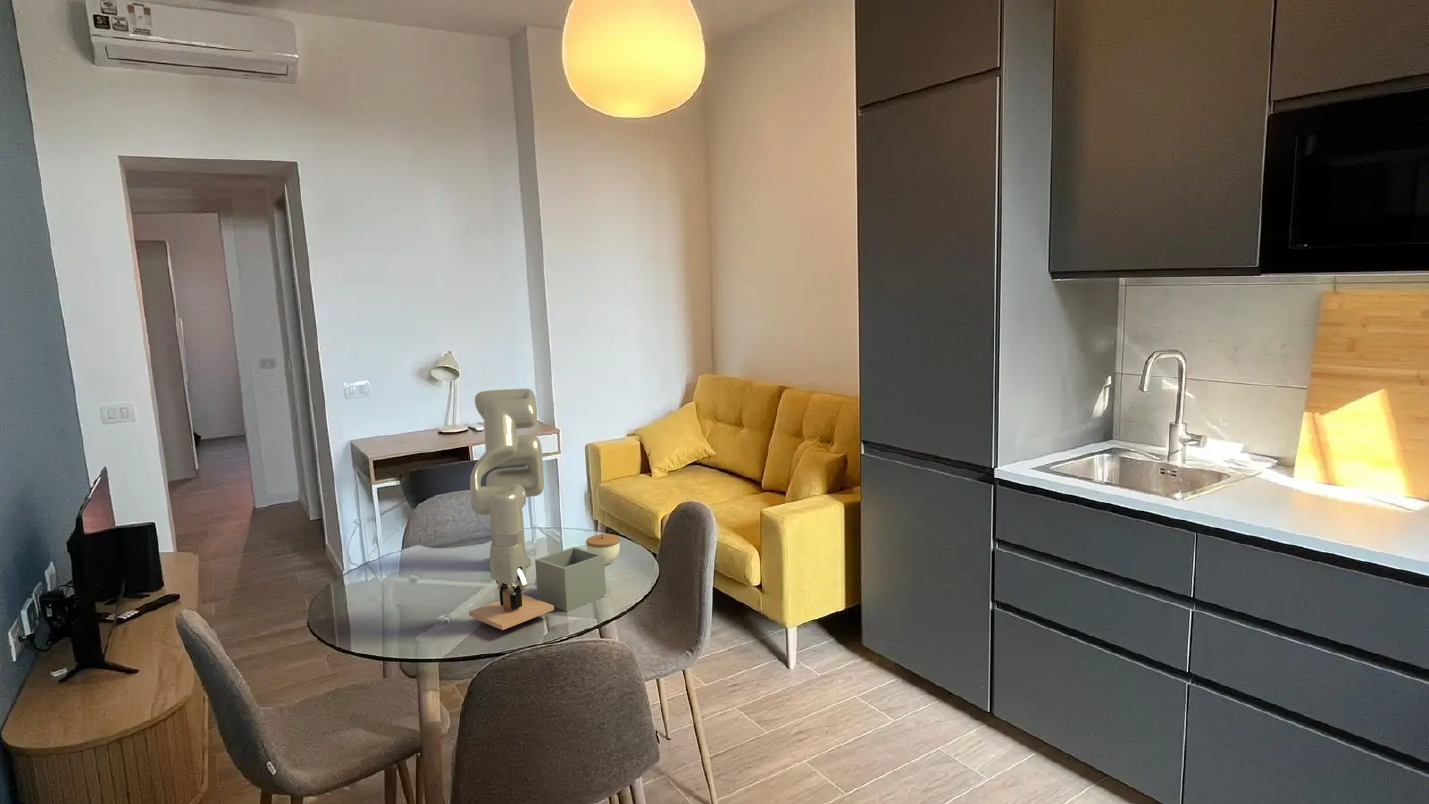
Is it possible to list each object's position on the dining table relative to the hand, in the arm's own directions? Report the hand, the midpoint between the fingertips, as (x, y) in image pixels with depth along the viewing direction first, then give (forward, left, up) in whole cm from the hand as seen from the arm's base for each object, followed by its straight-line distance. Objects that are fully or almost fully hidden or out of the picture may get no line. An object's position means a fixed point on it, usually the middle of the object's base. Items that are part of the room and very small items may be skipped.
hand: (511, 605), depth 210 cm
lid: (0, 0, -3) cm, 3 cm away
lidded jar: (-16, +46, -5) cm, 49 cm away
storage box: (0, +20, -4) cm, 20 cm away
